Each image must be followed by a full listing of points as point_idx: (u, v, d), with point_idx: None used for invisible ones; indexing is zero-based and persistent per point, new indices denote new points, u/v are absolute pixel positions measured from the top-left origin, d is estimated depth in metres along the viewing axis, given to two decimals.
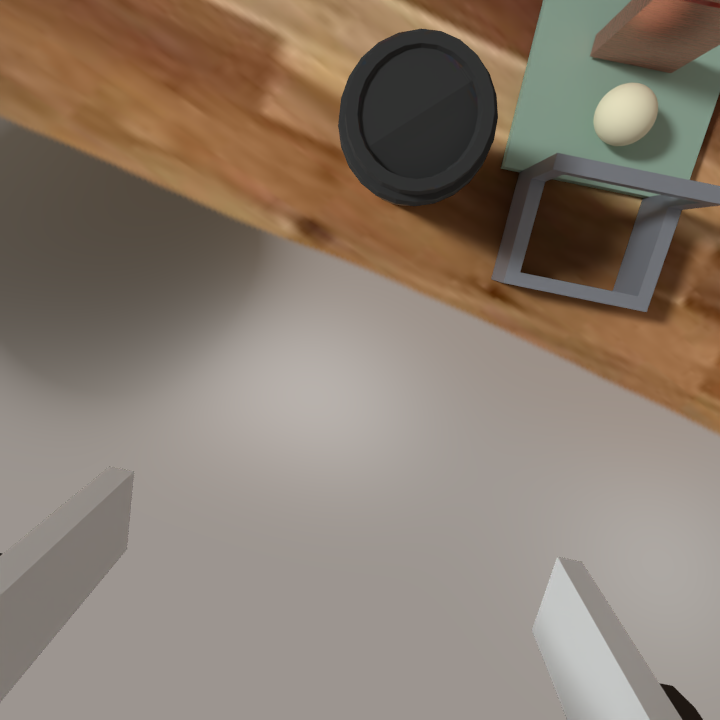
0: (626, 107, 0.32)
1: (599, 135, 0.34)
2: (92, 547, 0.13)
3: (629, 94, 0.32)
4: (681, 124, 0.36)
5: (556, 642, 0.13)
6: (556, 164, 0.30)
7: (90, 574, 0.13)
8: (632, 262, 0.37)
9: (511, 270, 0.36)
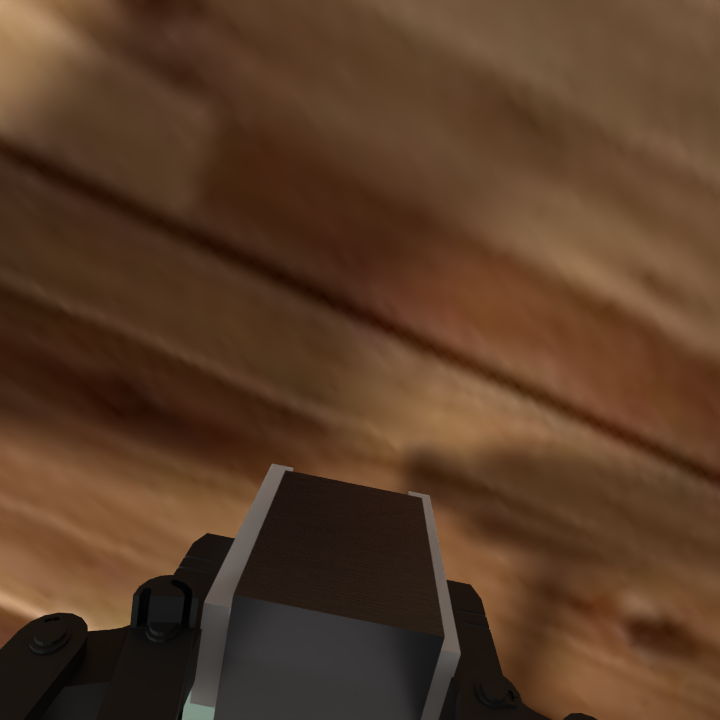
0: None
1: None
2: None
3: None
4: None
5: None
6: None
7: None
8: None
9: None
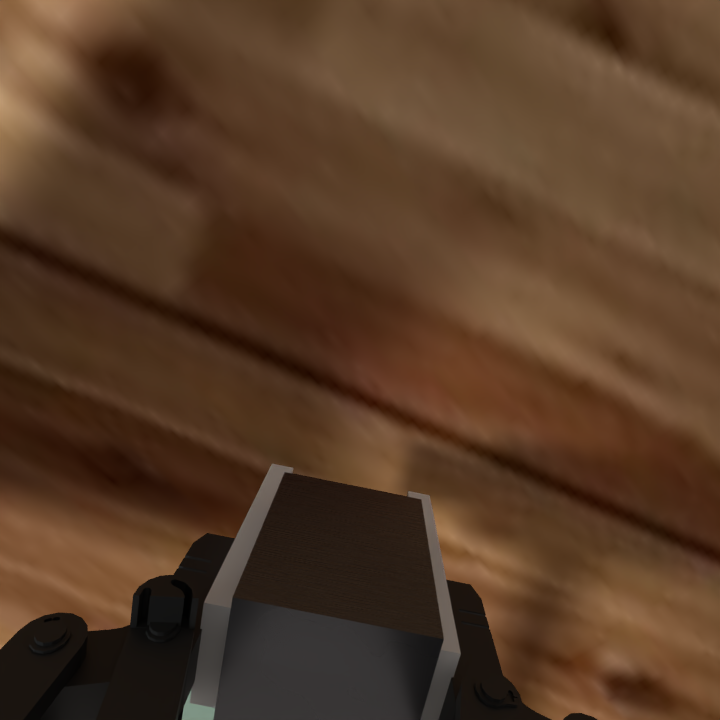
0: None
1: None
2: None
3: None
4: None
5: None
6: None
7: None
8: None
9: None
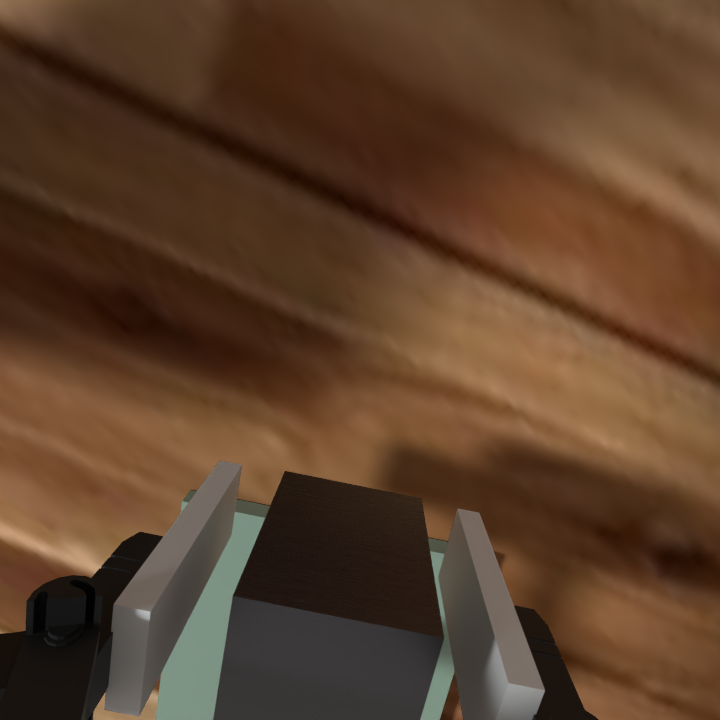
0: None
1: None
2: (218, 531, 0.14)
3: None
4: None
5: (450, 581, 0.15)
6: None
7: (214, 555, 0.14)
8: None
9: None
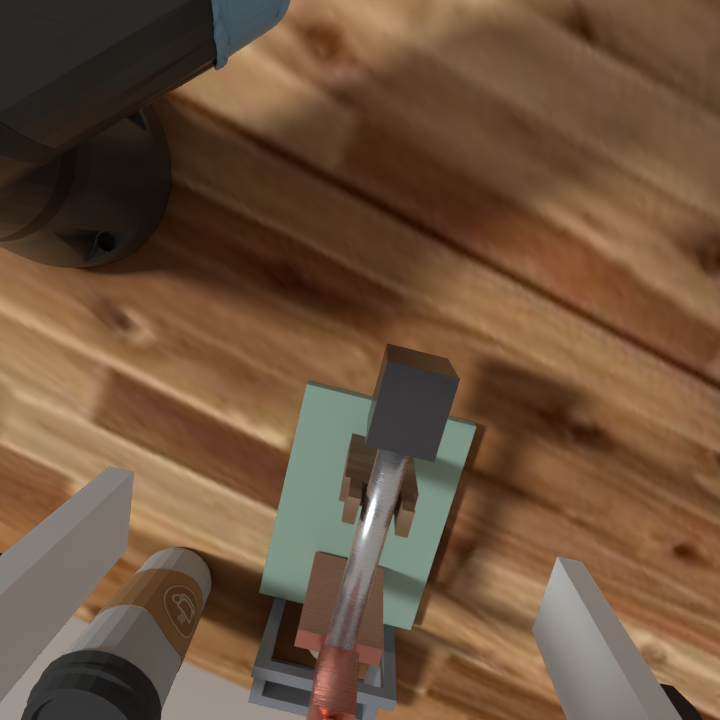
0: None
1: None
2: (92, 547, 0.13)
3: None
4: (405, 575, 0.42)
5: (556, 642, 0.13)
6: (253, 673, 0.36)
7: (90, 574, 0.13)
8: (369, 674, 0.43)
9: (254, 694, 0.41)
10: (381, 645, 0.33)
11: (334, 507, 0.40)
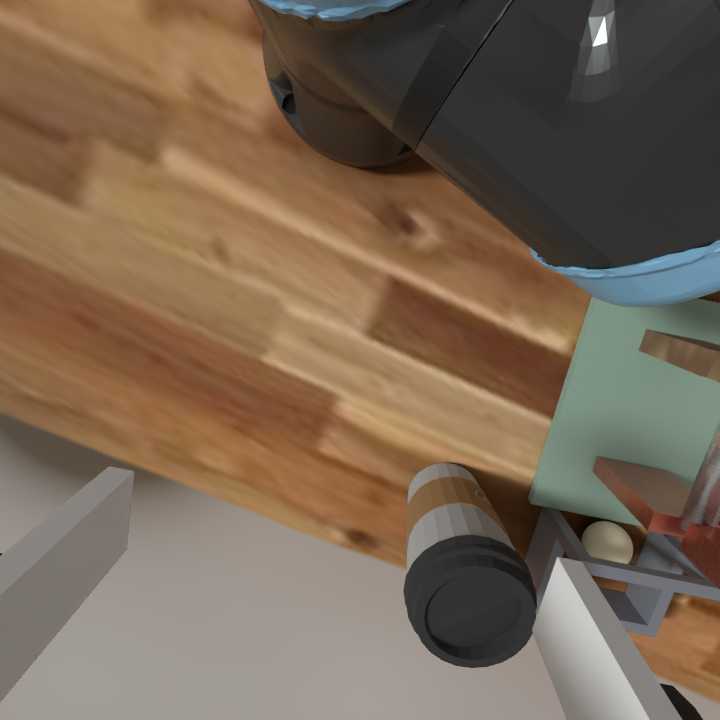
0: None
1: (599, 528, 0.41)
2: (92, 547, 0.13)
3: None
4: (686, 477, 0.41)
5: (556, 642, 0.13)
6: None
7: (90, 574, 0.13)
8: None
9: (538, 603, 0.41)
10: None
11: (619, 409, 0.40)
